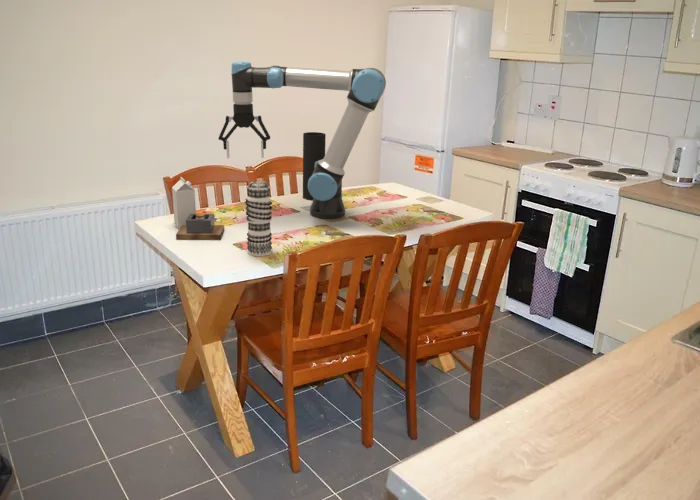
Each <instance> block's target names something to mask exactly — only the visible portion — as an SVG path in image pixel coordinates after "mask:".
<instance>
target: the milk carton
mask: <svg viewBox="0 0 700 500" xmlns="http://www.w3.org/2000/svg"><path fill="white" fill-rule="evenodd" d="M179 178H180V179H179V180H178V181H177V182H176V183H175V184H174V185H173V186H172V188H171V191H172V205H173V206H172V207H173V208H172V209H173V219H174V220H173V223H174V225H175V227H177V229H178V230H179V229H180V227H181V226H182V225H186V219H187V218H188V216H189V214H190V213H192V214H197V210H196V208H197V207H196V193H195V192H196V190H195V189H194V188H193V187H192V183H191V182H190V181H189V180H185V179H184V178H183V177H182V176H180V177H179Z"/></svg>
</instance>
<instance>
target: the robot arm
mask: <svg viewBox="0 0 700 500" xmlns="http://www.w3.org/2000/svg"><path fill="white" fill-rule="evenodd" d="M386 83H387V82H386V78H385V75H384V74H383V72H382V71H380V70H379V69H378V68H375V67H374V68H373V67H368V68H367V67H366V68H351V69H350V70H337V69H336V70H335V69H323V68H306V67H292V66H291V67H290V66H280V65H271V66H267V67H255V66H254V67H253V66H252V63H251V62H250V61H234V62H233V61H232V63H231V85H232V102H233V105H232V107H233V116H231V115H226V116H225V123H224V124H223V127H222V129H221V131H220V133H219V135H218V140H219V141H222V142H223V144H222V145H223V150H226V159H230V143H229V142H230V141H229V140H228V139H229V138H230V136H231V135H232V134H233V133H234V132H235V130H236V129H237V128H240V129H241V128H243V129H244V128H245V129H248V128H251V129H252V130H253V131H254V132H255V134H257V136H258V137H259V138H260V139H261V140H260V149H261V158H262V159H263V158H265V157H264V150H266V149H267V141H268V140H271V136H270V134H269V131H268V129H267V128H266V126H265V124H264V122H263V120H262V115H261V114H260V115H257V116H255V115H254V104H253V100H254V99H253V88H255V89H256V88H260V89H272V90H273V89H281V88H282V87H289V88H290V87H291V88H293V87H294V88H302V89H303V88H305V89H306V88H308V89H320V90H332V91H333V90H334V91H344V92H345V91H346V92H348V94H347V96H346V100H347V103H348V104H347V105H346V107H345V110H344V112H343V115H342V117H341V119H340V121H339V123H338V126H337V128H336V130H335V132H334V135H333V136H332V139H331V142H330V143H329V146H328V147H327V150H326V151H325V157H324V159H322V160H319V161H316V162H315V166H314V168H315V169H314V172H313V174H312V176H311V177H310V178H309V180H308V191H309V193H310V194H311V196H312V197H314V199H313V200H312V202H311V205H310V208H309V215H310V216H311V217H314V218H318V219H325V220H327V219H328V220H329V219H330V220H331V219H339V218H343V217H345V215H346V207H345V205H344V200H343V197H342V192H343V191H342V190H343V178H344V177H345V174H346V173H345V171H344V167H345V165H346V163H347V161H348V159H349V156H350V154H351V152H352V150H353V148H354V146H355V143H356V141H357V140H358V137H359V135H360V133H361V131H362V128H363V126H364V124H365V122H366V120H367V118H368V115H369V114H370V113H372V112H374V111H375V110H376V108H377V105H378V103H379V102H380V99H381V98H382V96H383V94H384V92H385V89H386V85H387V84H386ZM232 120H233V122H234V124H233V126H232V127H231V128H230V130H229V131H228V132H227V133H226V134H225V132H226V130H227V128H228V126H229V123H230V122H231V121H232ZM255 120H256V122H257V123H258V124H259V126H260V127H261V129H262V131H263V133H264V134H262V132H261V131H260V130H259V128H258V127H256V125H255V124H254V121H255ZM224 135H225V136H224Z"/></svg>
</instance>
